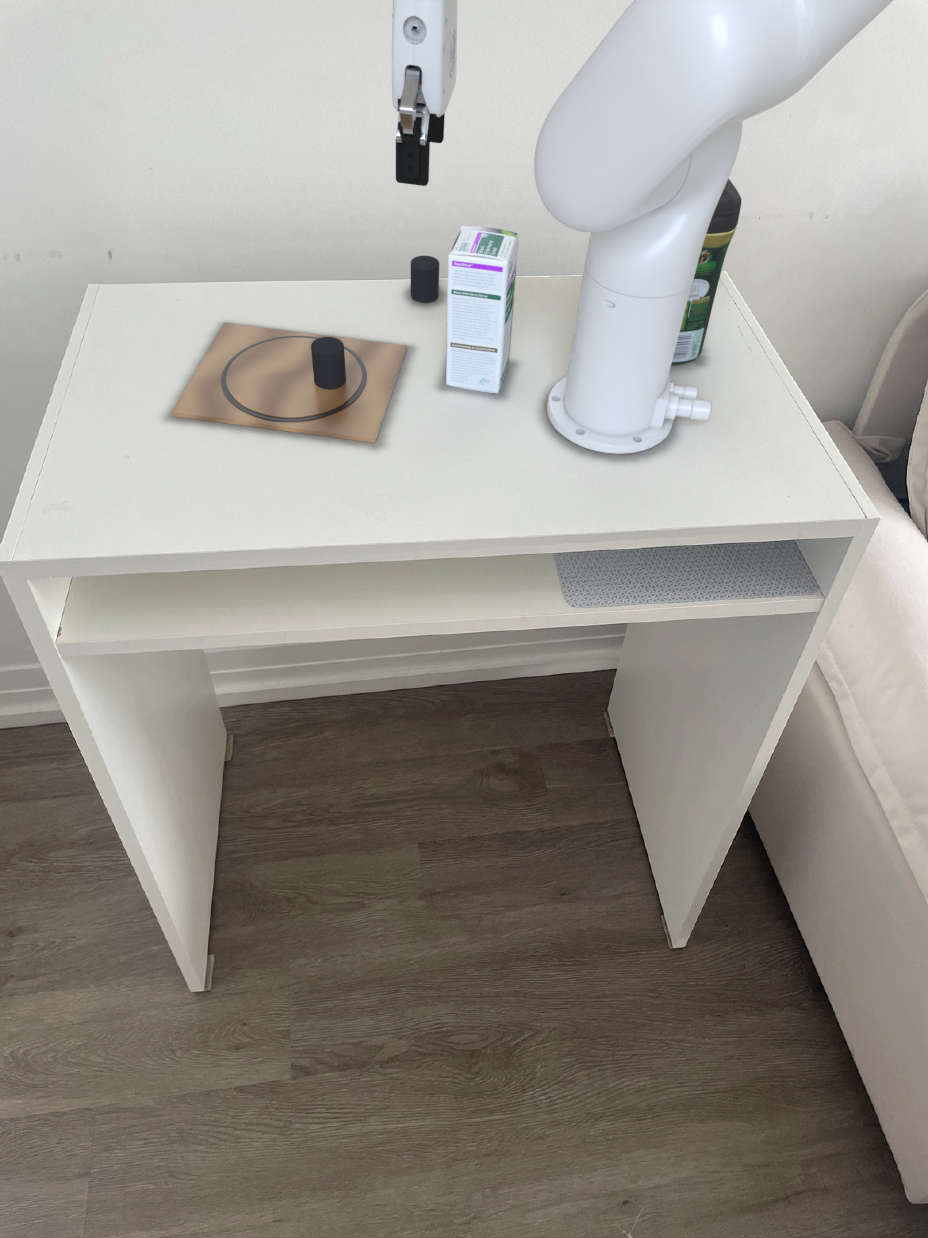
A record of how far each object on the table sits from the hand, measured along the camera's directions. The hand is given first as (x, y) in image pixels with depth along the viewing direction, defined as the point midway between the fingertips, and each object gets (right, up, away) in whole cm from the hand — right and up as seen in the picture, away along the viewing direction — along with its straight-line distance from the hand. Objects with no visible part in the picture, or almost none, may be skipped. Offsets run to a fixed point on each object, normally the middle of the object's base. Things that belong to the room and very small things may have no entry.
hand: (420, 160), depth 92 cm
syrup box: (+6, -21, +2) cm, 22 cm away
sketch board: (-13, -22, 0) cm, 26 cm away
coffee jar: (+26, -17, +8) cm, 32 cm away
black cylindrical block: (-9, -23, -1) cm, 24 cm away
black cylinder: (0, -10, +12) cm, 15 cm away
